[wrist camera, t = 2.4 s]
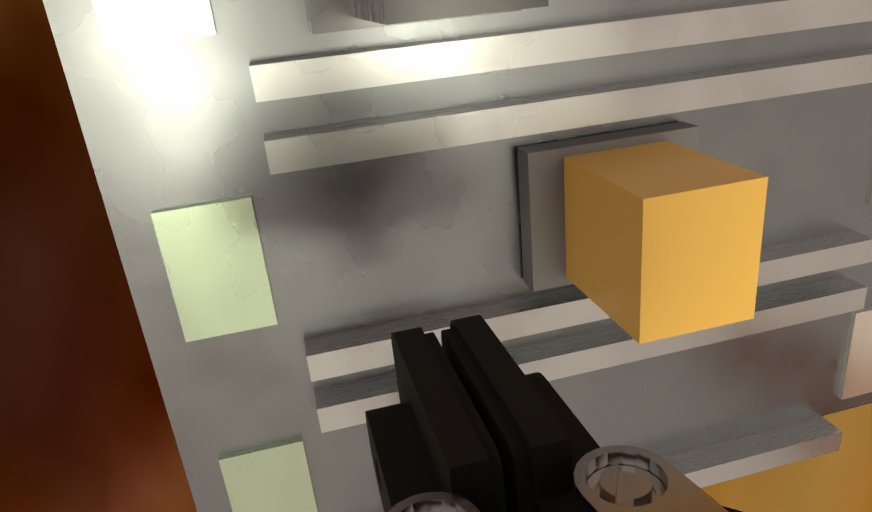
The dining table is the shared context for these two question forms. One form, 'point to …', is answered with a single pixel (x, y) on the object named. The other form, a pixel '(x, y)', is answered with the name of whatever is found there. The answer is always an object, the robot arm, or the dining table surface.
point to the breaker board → (462, 216)
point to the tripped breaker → (643, 228)
